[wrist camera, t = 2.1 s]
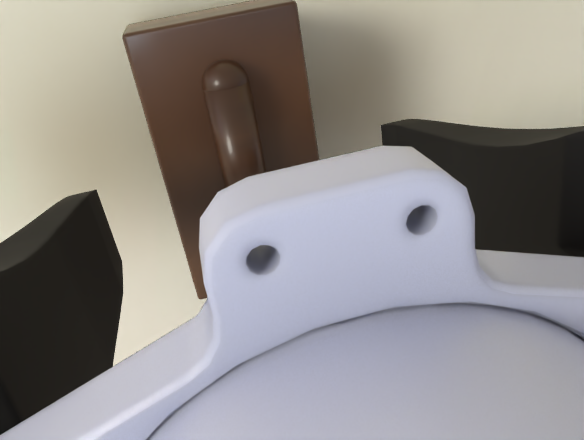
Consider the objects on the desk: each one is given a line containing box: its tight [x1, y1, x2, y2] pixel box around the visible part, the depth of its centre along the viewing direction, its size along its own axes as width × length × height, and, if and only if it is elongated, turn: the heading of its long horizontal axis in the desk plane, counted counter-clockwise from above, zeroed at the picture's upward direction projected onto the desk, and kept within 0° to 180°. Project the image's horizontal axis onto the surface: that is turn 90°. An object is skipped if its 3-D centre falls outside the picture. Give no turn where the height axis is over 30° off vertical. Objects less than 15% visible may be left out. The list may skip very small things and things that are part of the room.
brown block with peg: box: [123, 0, 319, 299], centre depth 17 cm, size 8×4×5 cm, turn 9°
